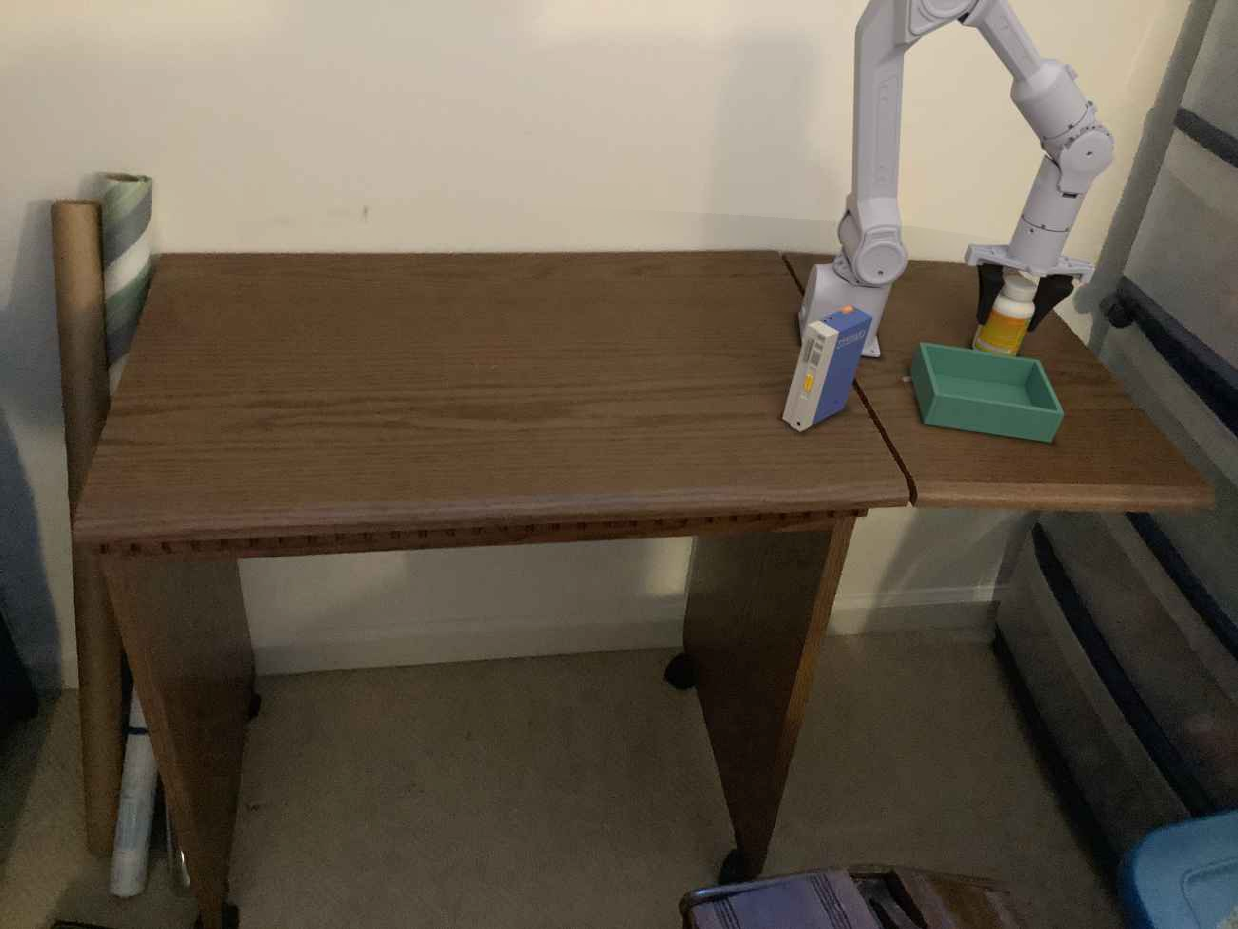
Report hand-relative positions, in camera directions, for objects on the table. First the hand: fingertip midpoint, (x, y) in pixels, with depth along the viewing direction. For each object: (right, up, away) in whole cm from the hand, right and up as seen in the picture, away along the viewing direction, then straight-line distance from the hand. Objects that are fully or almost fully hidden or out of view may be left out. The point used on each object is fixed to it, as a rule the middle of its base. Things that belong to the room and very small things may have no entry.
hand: (1004, 324), depth 124 cm
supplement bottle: (-1, -3, +3) cm, 4 cm away
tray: (-6, -10, -8) cm, 14 cm away
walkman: (-26, -12, -13) cm, 32 cm away
